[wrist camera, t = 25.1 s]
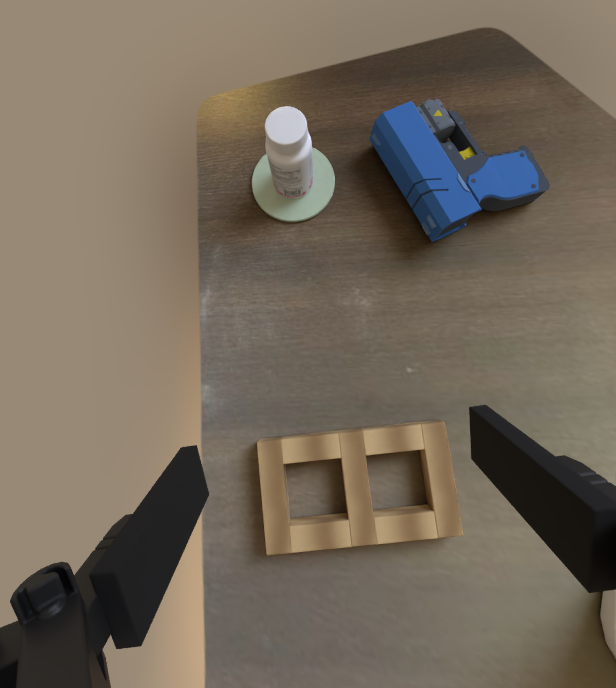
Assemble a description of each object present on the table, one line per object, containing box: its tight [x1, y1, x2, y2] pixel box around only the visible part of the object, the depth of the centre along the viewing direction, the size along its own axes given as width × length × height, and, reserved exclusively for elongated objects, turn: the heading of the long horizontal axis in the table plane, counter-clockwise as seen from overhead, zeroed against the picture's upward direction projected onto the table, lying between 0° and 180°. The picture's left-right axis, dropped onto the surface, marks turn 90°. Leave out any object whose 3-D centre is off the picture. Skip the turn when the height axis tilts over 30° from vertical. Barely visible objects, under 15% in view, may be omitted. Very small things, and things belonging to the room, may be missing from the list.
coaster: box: [252, 148, 335, 222], centre depth 38 cm, size 10×10×1 cm
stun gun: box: [370, 99, 550, 242], centre depth 36 cm, size 4×16×15 cm
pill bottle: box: [265, 107, 313, 199], centre depth 34 cm, size 5×5×8 cm
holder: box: [257, 420, 463, 555], centre depth 33 cm, size 20×11×2 cm, turn 96°
